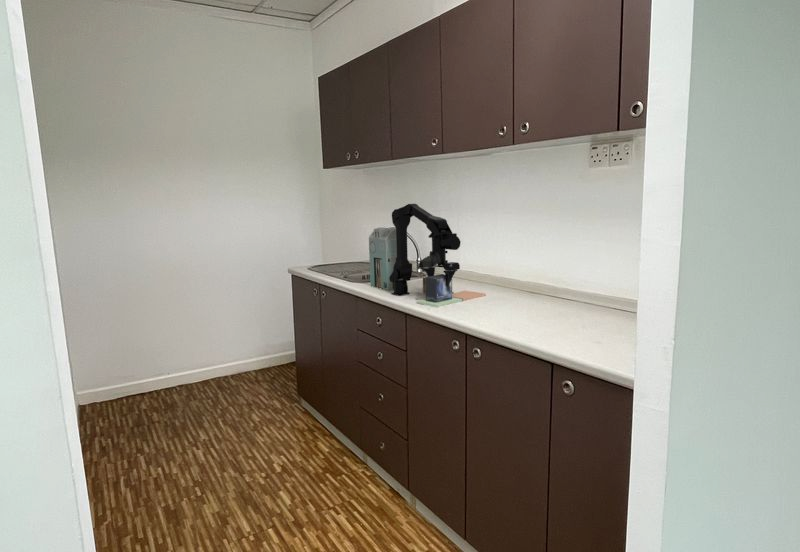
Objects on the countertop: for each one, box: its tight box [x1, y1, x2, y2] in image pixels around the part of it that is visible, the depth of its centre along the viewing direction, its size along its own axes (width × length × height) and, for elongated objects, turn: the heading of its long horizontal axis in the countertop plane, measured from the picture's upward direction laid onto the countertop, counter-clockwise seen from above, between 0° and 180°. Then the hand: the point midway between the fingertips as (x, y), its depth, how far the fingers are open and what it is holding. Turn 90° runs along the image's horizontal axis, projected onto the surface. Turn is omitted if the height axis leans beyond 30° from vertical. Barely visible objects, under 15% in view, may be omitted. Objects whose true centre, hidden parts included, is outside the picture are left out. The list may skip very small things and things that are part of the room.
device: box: [368, 227, 397, 292], centre depth 261 cm, size 16×8×30 cm, turn 34°
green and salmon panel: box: [416, 290, 486, 308], centre depth 229 cm, size 12×32×1 cm, turn 133°
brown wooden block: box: [422, 276, 455, 294], centre depth 244 cm, size 14×6×7 cm, turn 43°
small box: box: [425, 273, 453, 302], centre depth 222 cm, size 11×6×10 cm, turn 133°
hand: (439, 284), depth 222 cm, fingers open, 9 cm apart
